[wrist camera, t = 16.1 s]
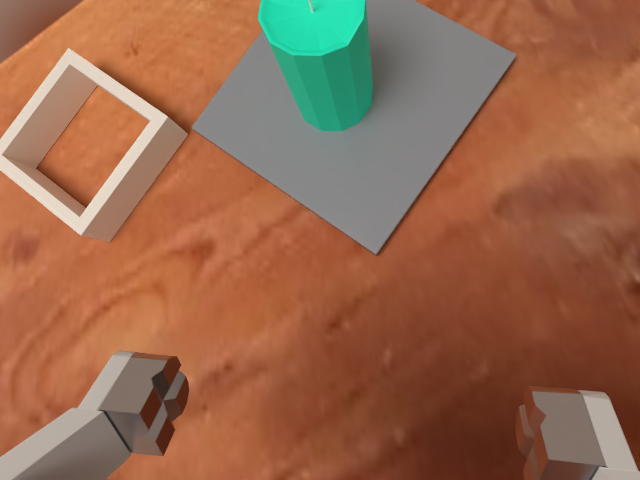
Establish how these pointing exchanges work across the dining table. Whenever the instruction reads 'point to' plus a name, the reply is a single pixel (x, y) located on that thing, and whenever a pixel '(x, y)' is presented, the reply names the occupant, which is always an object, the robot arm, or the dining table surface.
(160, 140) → the square frame
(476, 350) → the dining table surface
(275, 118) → the slate tile
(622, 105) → the dining table surface
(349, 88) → the candle
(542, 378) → the dining table surface
